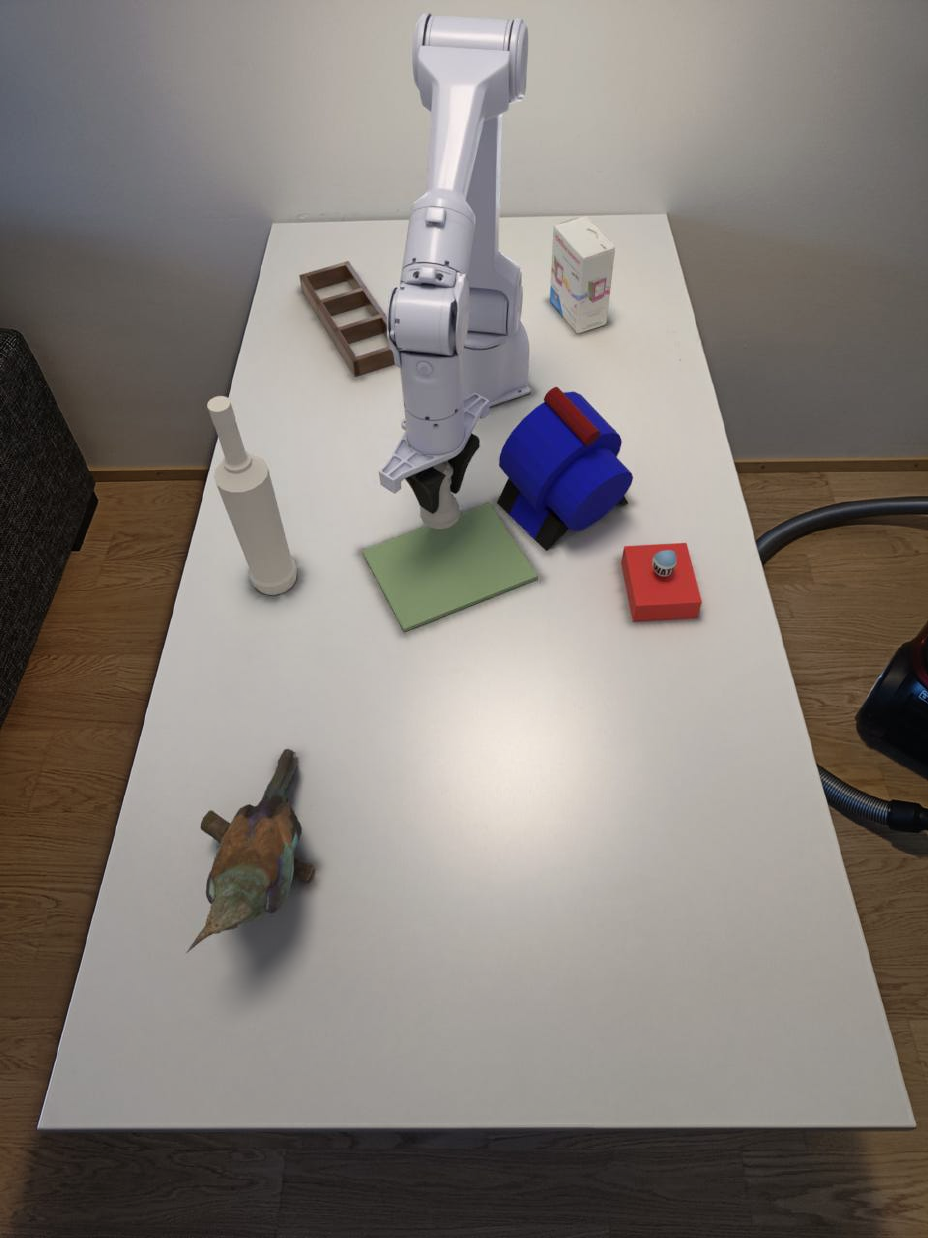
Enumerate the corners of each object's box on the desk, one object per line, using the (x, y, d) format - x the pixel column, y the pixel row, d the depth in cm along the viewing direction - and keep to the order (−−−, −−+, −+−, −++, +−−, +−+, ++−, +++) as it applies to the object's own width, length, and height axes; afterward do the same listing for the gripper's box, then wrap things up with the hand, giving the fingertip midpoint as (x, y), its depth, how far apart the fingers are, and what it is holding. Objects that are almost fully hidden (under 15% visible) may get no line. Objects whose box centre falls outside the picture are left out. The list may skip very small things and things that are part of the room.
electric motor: (571, 453, 108) (583, 353, 95) (640, 513, 102) (662, 415, 90) (492, 498, 104) (493, 399, 92) (559, 563, 98) (570, 467, 86)
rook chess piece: (455, 534, 96) (453, 483, 89) (415, 528, 97) (410, 476, 90) (464, 504, 98) (463, 452, 92) (425, 498, 99) (421, 446, 92)
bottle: (290, 600, 96) (236, 427, 75) (245, 592, 97) (179, 420, 76) (304, 563, 99) (256, 387, 78) (260, 556, 100) (201, 380, 79)
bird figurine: (231, 745, 85) (151, 767, 65) (333, 750, 85) (284, 775, 65) (221, 885, 84) (137, 952, 64) (324, 892, 84) (272, 960, 64)
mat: (489, 505, 103) (489, 502, 103) (537, 579, 97) (538, 575, 96) (362, 553, 100) (361, 549, 99) (404, 632, 93) (403, 629, 93)
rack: (350, 275, 130) (348, 260, 128) (407, 359, 118) (406, 344, 116) (301, 290, 128) (298, 274, 126) (355, 376, 117) (352, 361, 115)
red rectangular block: (696, 617, 94) (708, 581, 88) (632, 621, 93) (641, 585, 88) (681, 558, 98) (692, 521, 93) (621, 562, 98) (628, 524, 93)
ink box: (546, 300, 125) (551, 222, 115) (577, 291, 126) (585, 212, 117) (576, 335, 121) (584, 256, 111) (607, 324, 122) (618, 246, 112)
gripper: (451, 344, 88) (455, 444, 100) (350, 422, 82) (366, 519, 93) (506, 373, 86) (503, 472, 97) (405, 456, 80) (415, 552, 91)
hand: (439, 497), depth 95 cm, fingers closed on rook chess piece, 3 cm apart
